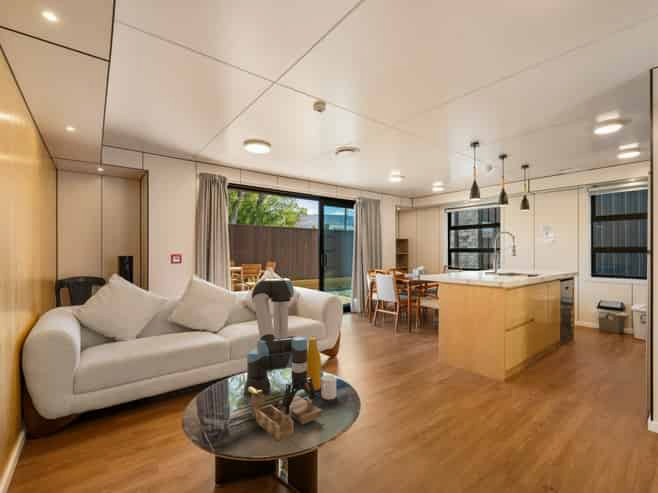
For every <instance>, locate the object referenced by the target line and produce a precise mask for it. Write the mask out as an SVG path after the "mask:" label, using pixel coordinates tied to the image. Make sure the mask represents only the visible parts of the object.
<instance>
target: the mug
mask: <svg viewBox="0 0 658 493" xmlns="http://www.w3.org/2000/svg"><path fill="white" fill-rule="evenodd" d="M320 389H321V392H320V393H321V398H323V399H324V400H326V401H327V400H330V399H331V400H334V399H336V398H337V377H336V376H334V375H329V374H328V375H323V376H321V387H320Z"/></svg>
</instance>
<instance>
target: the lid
mask: <svg viewBox="0 0 658 493" xmlns="http://www.w3.org/2000/svg"><path fill="white" fill-rule="evenodd" d="M282 401H283V399H282V400H278V409H280V410H283V411H284V412H286V407H284V406H282ZM290 406H291V417H292V418H294V419H295V420H297V421H298V422H299V423H301V424H305V423H307V422H310V421H312V420H314V419H319V418H322V413H323V412H322V409H321V408H319V407H318V406H316V405H314V404H311V403H309V402H308V401H307V399H306V400H305V399H304V398H303V397H301V396H299V395H296V394H295V396H294V398H293V401H292V403H291V405H290Z"/></svg>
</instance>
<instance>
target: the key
mask: <svg viewBox="0 0 658 493" xmlns="http://www.w3.org/2000/svg"><path fill="white" fill-rule="evenodd" d="M248 391H250V392H251V393H252V392H254V393H255V396H256V397H258V398H259V397H262V393H261V390H256V389H255V388H253V387H252V386H251V387H248Z"/></svg>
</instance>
